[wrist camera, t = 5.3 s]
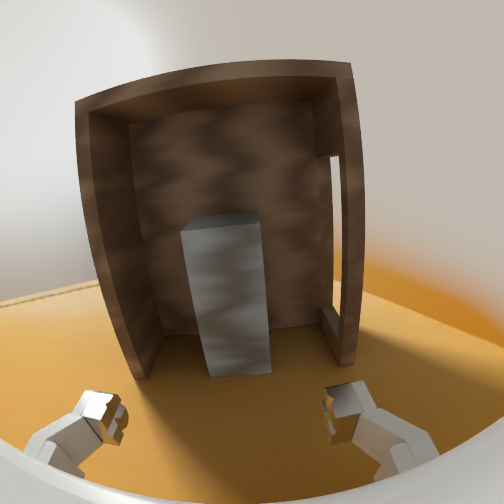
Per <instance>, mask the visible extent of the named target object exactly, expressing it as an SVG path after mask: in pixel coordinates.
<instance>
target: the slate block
mask: <svg viewBox="0 0 504 504" xmlns="http://www.w3.org/2000/svg"><path fill="white" fill-rule="evenodd" d="M180 232H181V239H182V245H183V251H184V257H185V263H186V269H187V274H188V280H189V285H190V290H191V295H192V300H193V305H194V310H195V315H196V320H197V324H198V329H199V333H200V338H201V342H202V347H203V351H204V355H205V359H206V363H207V367H208V371H209V375H210V377H227V376H244V375H257V374H268V373H272V368H271V355H270V341H269V328H268V315H267V302H266V289H265V277H264V264H263V252H262V241H261V229H260V221H259V218H258V214H257V211H253V212H242V213H232V214H223V215H213V216H204V217H196V218H194V219H193V220H192V221H191V222H189V223H188V224H187V225H186V226H185V227H184V228H183V229H182V230H181V231H180Z"/></svg>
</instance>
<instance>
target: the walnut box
mask: <svg viewBox="0 0 504 504" xmlns="http://www.w3.org/2000/svg"><path fill="white" fill-rule="evenodd" d="M75 137H76V154H77V166H78V176H79V185H80V192H81V199H82V206H83V212H84V218H85V223H86V229H87V234H88V239H89V243H90V248H91V252H92V257H93V261H94V265H95V269H96V272H97V277H98V280H99V284H100V287H101V291H102V294H103V297H104V301H105V304H106V307H107V310H108V313H109V316H110V319H111V322H112V325H113V328H114V331H115V333H116V336H117V339H118V341H119V344H120V347H121V349H122V352H123V354H124V357H125V359H126V361H127V364H128V366H129V368H130V371H131V373H132V375H133V378H134V379H139V380H147V378H148V375H149V373H150V370H151V368H152V366H153V363H154V361H155V358H156V356H157V354H158V351H159V349H160V347H161V344H162V342H163V340H164V338H165V336H171V335H200V333H199V329H198V324H197V320H196V315H195V310H194V305H193V300H192V295H191V290H190V285H189V280H188V274H187V269H186V263H185V257H184V251H183V245H182V239H181V232H180V231H181V230H182V229H183V228H184V227H185V226H186V225H187V224H188V223H189V222H191V221H192V220H193V219H194V218H196V217H204V216H213V215H223V214H232V213H242V212H253V211H257V214H258V218H259V221H260V229H261V241H262V252H263V264H264V277H265V289H266V302H267V315H268V328H269V329H279V328H288V327H296V326H304V325H312V324H319V323H320V324H321V326H322V328H323V330H324V332H325V335H326V337H327V339H328V341H329V344H330V346H331V348H332V350H333V353H334V355H335V357H336V359H337V362H338V364H339V366H340V367H344V366H349V365H354V359H355V352H356V345H357V338H358V330H359V321H360V312H361V301H362V289H363V273H364V253H365V251H364V250H365V189H364V188H365V187H364V167H363V153H362V140H361V130H360V121H359V112H358V105H357V98H356V91H355V85H354V79H353V73H352V68H351V63H347V62H336V61H323V60H295V59H292V60H291V59H287V60H283V59H282V60H256V61H242V62H231V63H221V64H214V65H206V66H200V67H194V68H188V69H183V70H178V71H173V72H168V73H163V74H159V75H155V76H151V77H147V78H143V79H139V80H136V81H133V82H129V83H126V84H122V85H119V86H116V87H113V88H110V89H107V90H104V91H102V92H98V93H96V94H93V95H90V96H88V97H85V98H83V99H80V100H78V101H75ZM334 156H339V165H340V181H341V204H342V279H341V302H340V317H339V315H338V313H337V312H336V310H335V308H334V307H333V305H332V302H333V205H332V204H333V203H332V183H331V167H330V157H334Z"/></svg>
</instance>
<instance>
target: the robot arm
mask: <svg viewBox="0 0 504 504" xmlns="http://www.w3.org/2000/svg"><path fill="white" fill-rule="evenodd" d="M323 397H324V400H323V401H322V407H321V408H322V417H323V421H324V424H326V425H327V431H326V432H327V436H328V439H329V443H330V445H332V444H337V443H342V442H347V441H351V440H352V442H353V443H354V444H355V445H357V446H358V447H359V448H360V449H362V450H363V451H364V452H365V453H367V454H368V455H369V456H371V457H372V458H373V459H374V460H376V461H377V462H378V463H380V464H381V465H380V467H379V469H378V470H377V472H376V473H375V475H374V476H373V479H374V483H371V484H368V485H364V486H361V487H357V488H354V489H350V490H346V491H342V492H338V493H333V494H329V495H324V496H319V497H313V498H307V499H301V500H293V501H285V502H275V503H262V504H504V416H503V417H501V418H500V419H498V420H497V421H496V422H494V423H493V424H491V425H490V426H489V427H487V428H486V429H484V430H483V431H481V432H480V433H478V434H477V435H475V436H473V437H472V438H470V439H469V440H467V441H465V442H464V443H462V444H460V445H458V446H457V447H455V448H453V449H451V450H449V451H448V452H446V453H444V454H442V455H440V454H439V452H438V450H437V449H436V447H435V445H434V443H433V441H432V440H431V438H430V436H429V434H428V432H427V431H425V430H423V429H421V428H419V427H417V426H415V425H413V424H411V423H409V422H407V421H405V420H403V419H401V418H399V417H397V416H395V415H393V414H392V413H390V412H388V411H386V410H384V409H382V408H378V409H377V407H376V405H375V403H374V401H373V399H372V397H371V395H370V393H369V391H368V389H367V387H366V385H365V383H364V381H363V380H359V381H355V382H350V383H345V384H341V385H336V386H331V387H326V388H324V390H323ZM120 402H121V399H120V397H119V396H118V395H117V394H112V393H106V392H101V391H94V390H89V389H87V390H86V391H85V392H84V393H83V395H82V396H81V398H80V400H79V401H78V403H77V405H76V407H75V408H74V410H73V412H72V413H71V414H70V413H68V414H67V415H65V416H63V417H61V418H60V419H58V420H56V421H55V422H53V423H51V424H49V425H48V426H46V427H44V428H42V429H41V430H39V431H37V432H35V433H34V434H33V435H32V437H31V439H30V440H29V442H28V444H27V446H26V447H25V449H24V451H23V452H22V451H20V450H19V449H17V448H15V447H13V446H12V445H10V444H8V443H7V442H5V441H3V440H2V439H0V504H205V503H192V502H182V501H174V500H167V499H160V498H154V497H149V496H144V495H139V494H134V493H130V492H126V491H122V490H118V489H114V488H110V487H107V486H104V485H100V484H97V483H94V482H91V481H88V480H85V479H84V477H85V474H84V472H83V471H82V470H81V469H80V468H79V467H78V465H79V464H81V463H82V462H83V461H84V460H85V459H86V458H88V457H89V456H90V455H91V454H92V453H93V452H94V451H96V450H97V449H98V448H99V447H100V446H101V445H102V444H103V443H106V444H112V445H117V446H120V443H121V440H122V438H123V435H124V434H123V432H122V430H123V429H124V428H126V427H127V424H128V418H129V415H128V412H127V409H126V408H125V407H124V406H123V405H122V404H121V403H120Z"/></svg>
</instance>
